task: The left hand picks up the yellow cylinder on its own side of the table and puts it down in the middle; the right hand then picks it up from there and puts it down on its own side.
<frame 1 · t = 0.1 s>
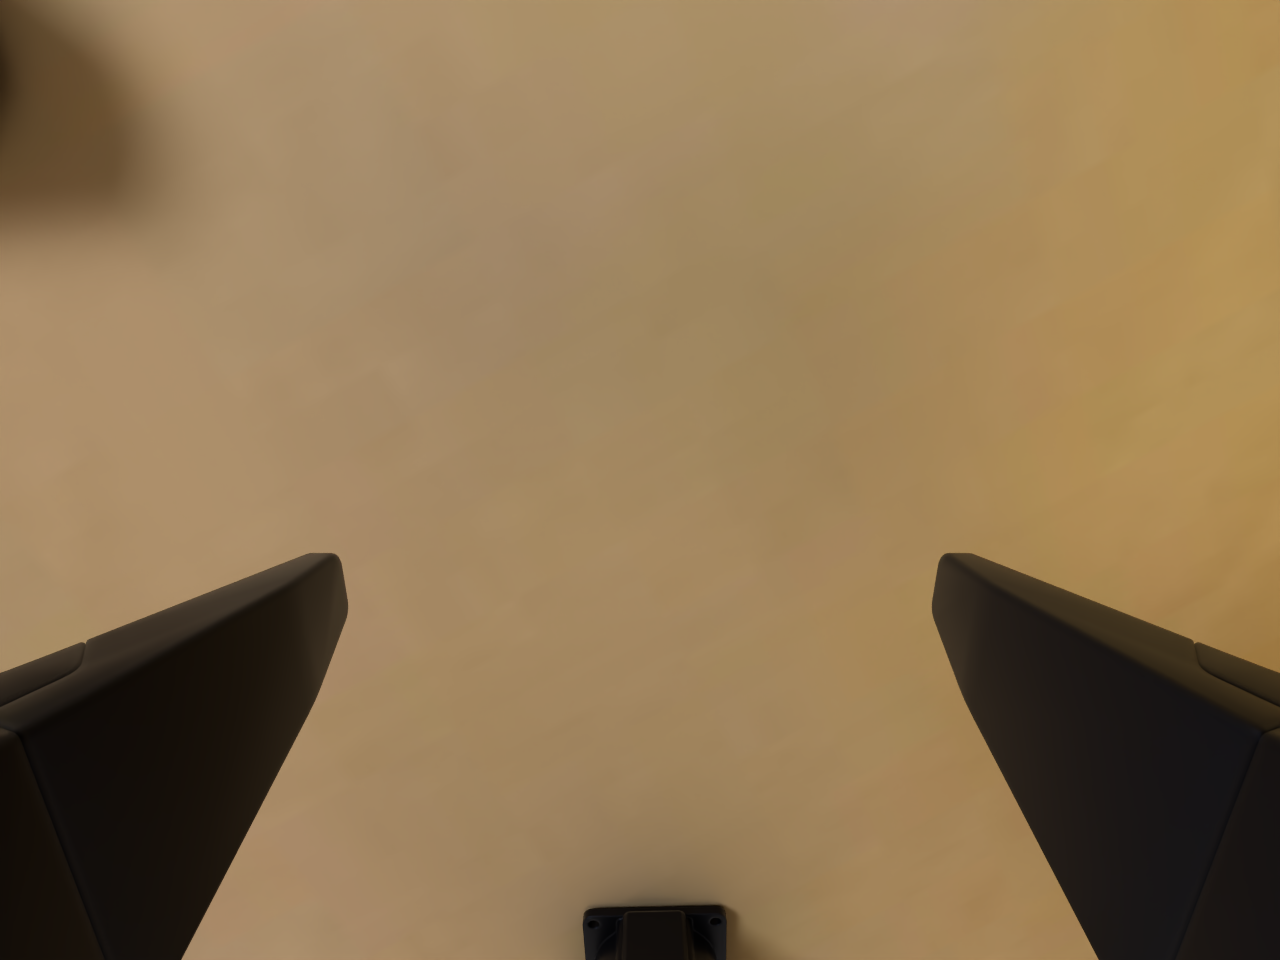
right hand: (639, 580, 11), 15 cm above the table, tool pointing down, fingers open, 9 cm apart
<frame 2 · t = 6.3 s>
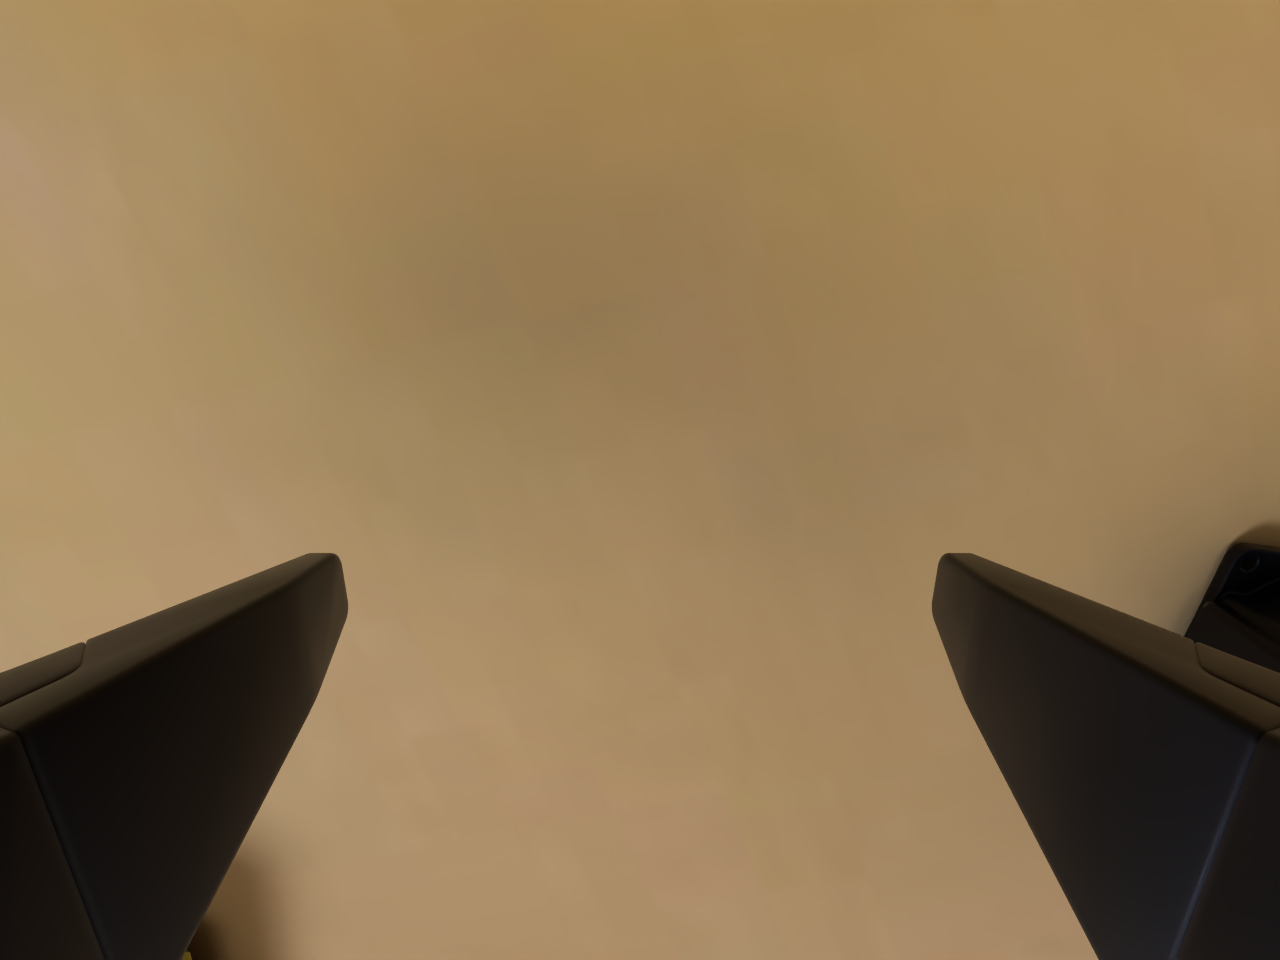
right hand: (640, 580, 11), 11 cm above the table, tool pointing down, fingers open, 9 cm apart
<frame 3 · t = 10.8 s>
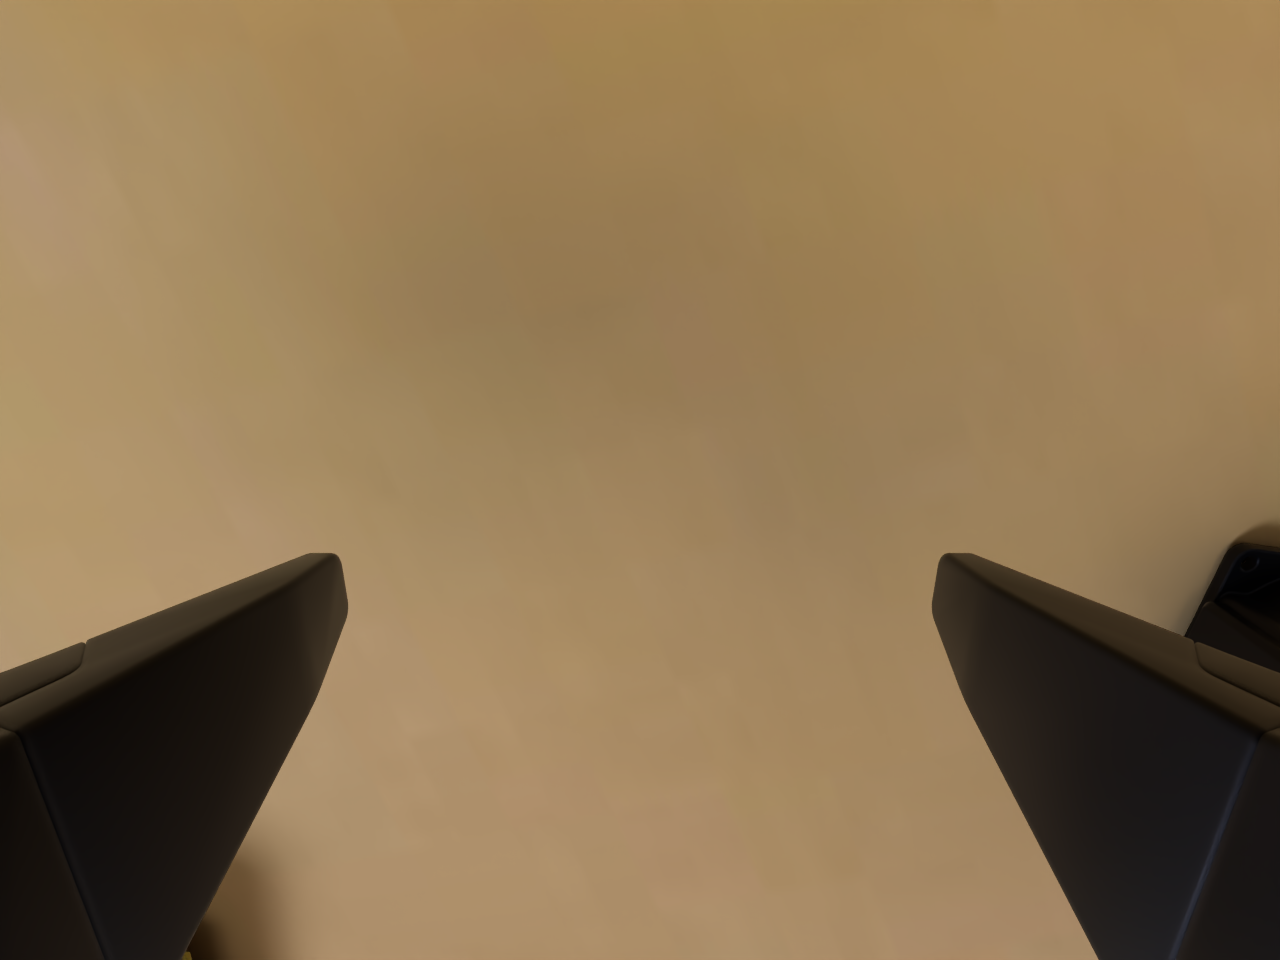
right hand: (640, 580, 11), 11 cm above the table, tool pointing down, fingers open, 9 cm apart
when the left hand's fingers open (1 cm above the table, at t = 15.3 s): yellow cylinder stays where it is, on the table.
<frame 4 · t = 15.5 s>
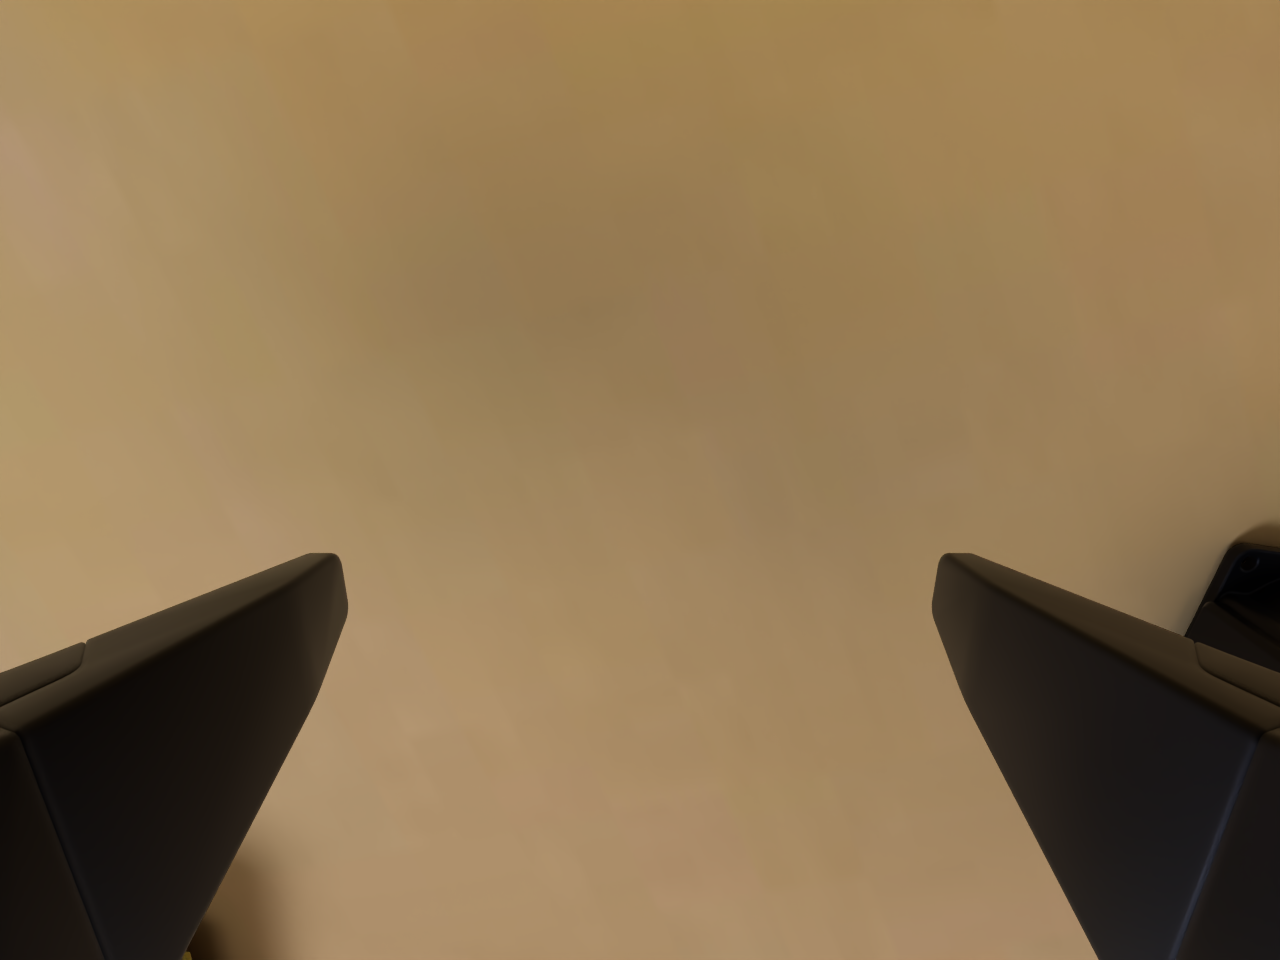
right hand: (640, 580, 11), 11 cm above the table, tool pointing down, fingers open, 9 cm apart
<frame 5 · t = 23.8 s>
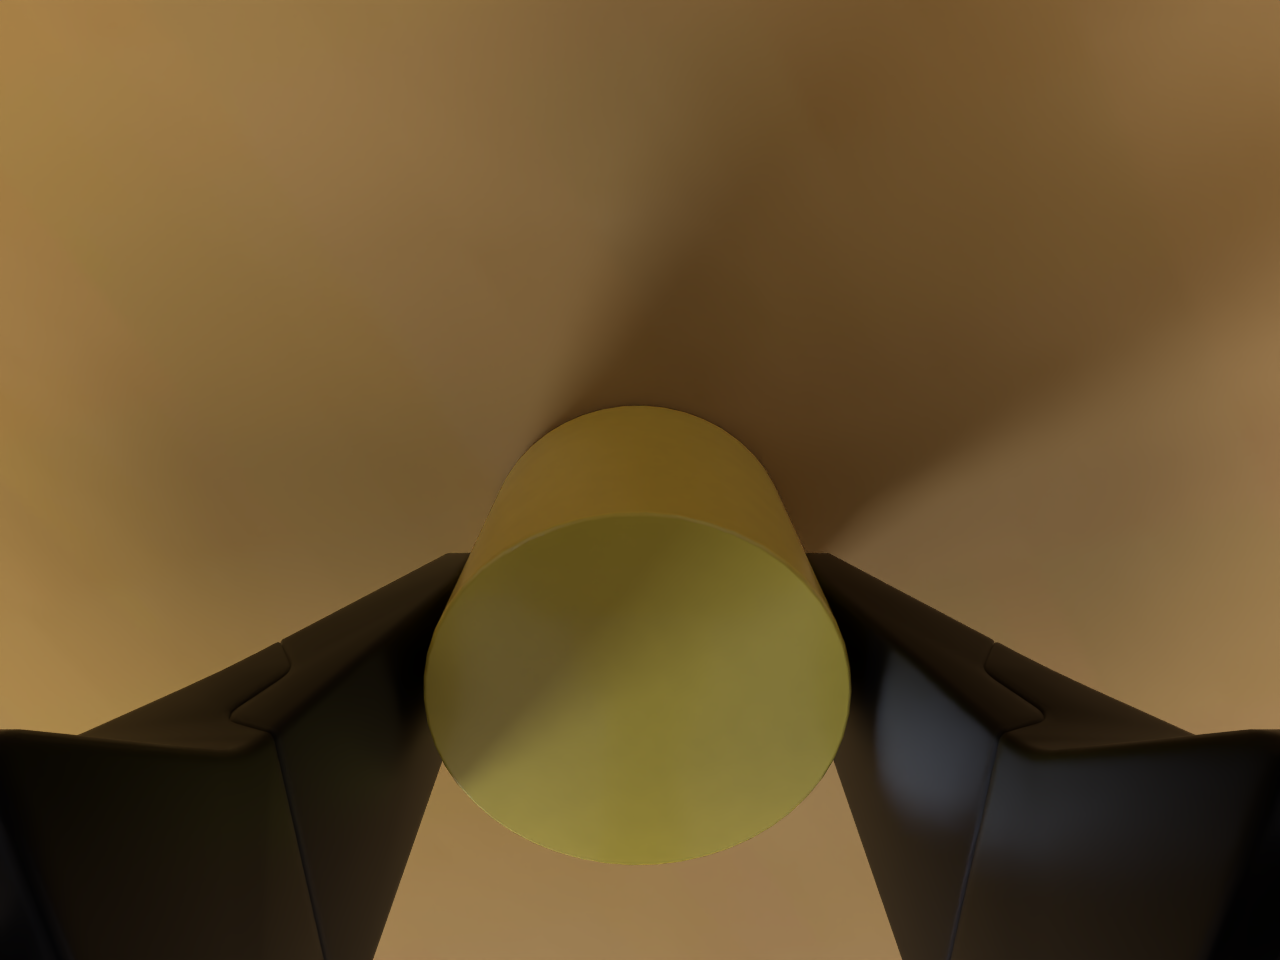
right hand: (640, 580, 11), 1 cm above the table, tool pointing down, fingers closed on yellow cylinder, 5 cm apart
yellow cylinder: (638, 547, 12), on the table, touching right hand
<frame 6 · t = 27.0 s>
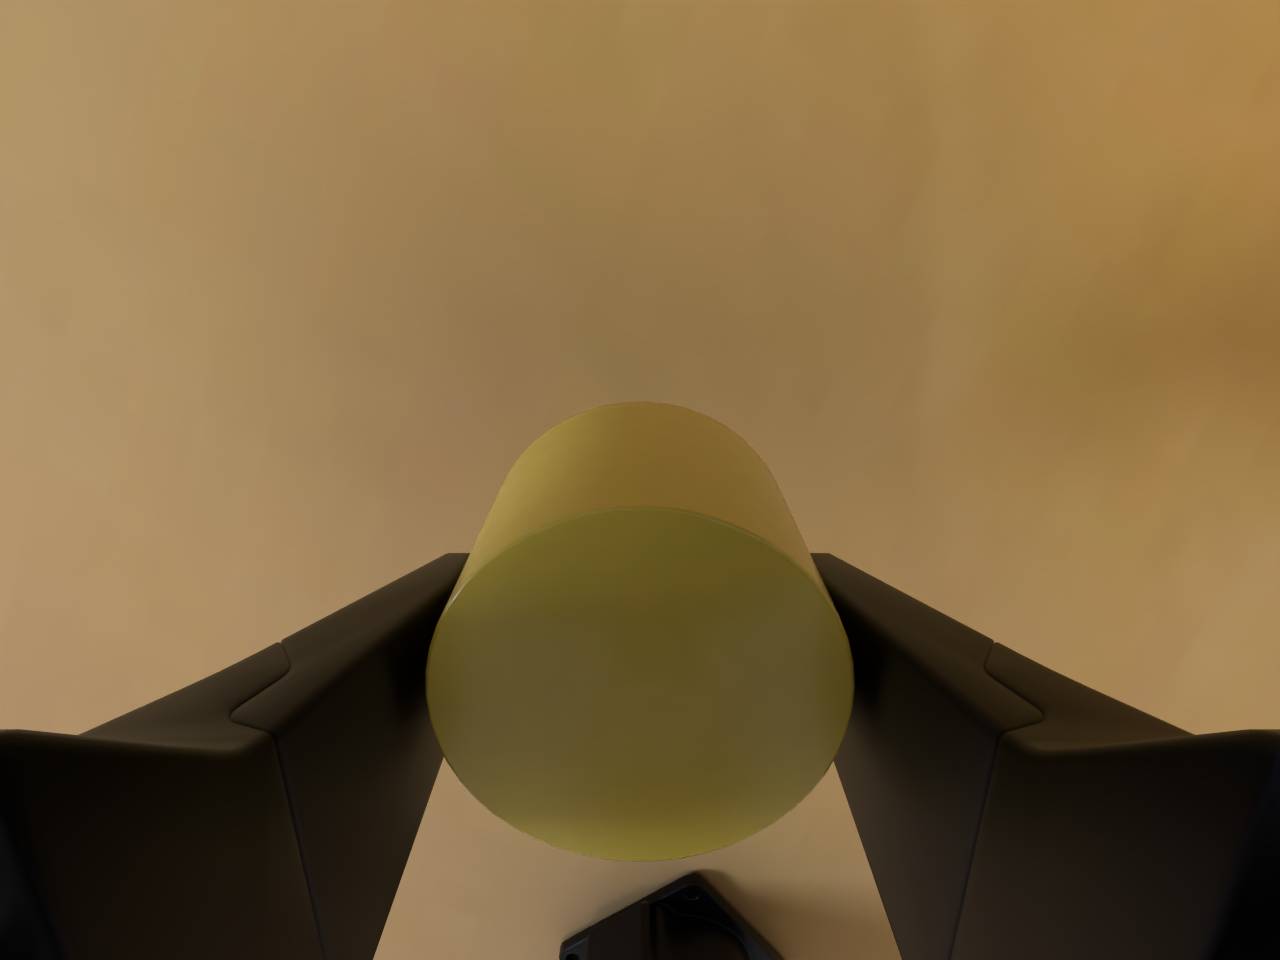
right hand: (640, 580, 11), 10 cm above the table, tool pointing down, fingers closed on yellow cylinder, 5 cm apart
yellow cylinder: (640, 544, 12), point 9 cm above the table, touching right hand
when the right hand's fingers open (2 cm above the table, at t = 30.5 s): yellow cylinder stays where it is, on the table.
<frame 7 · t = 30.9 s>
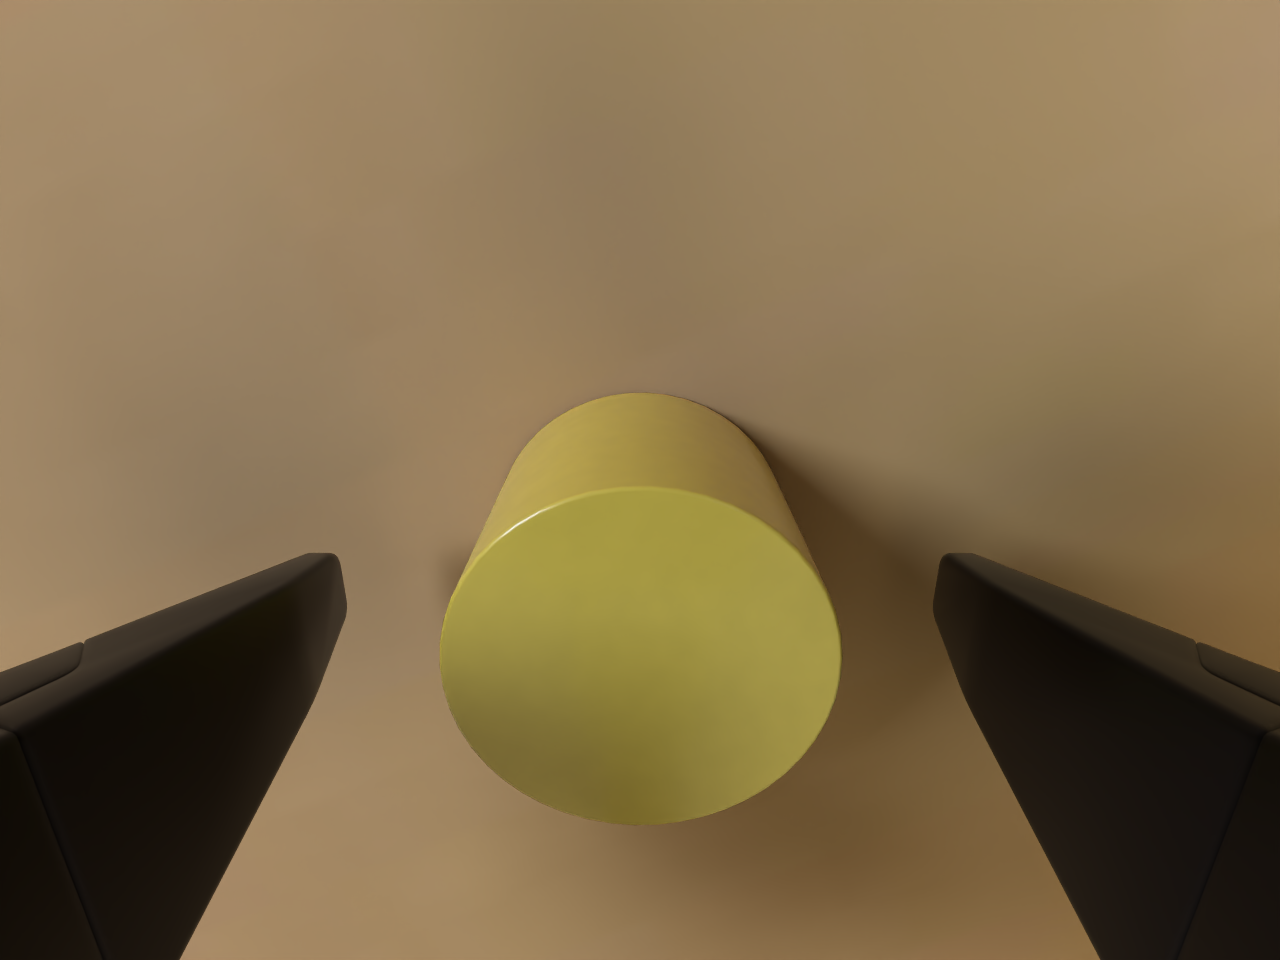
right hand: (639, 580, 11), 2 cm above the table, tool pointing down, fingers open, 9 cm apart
yellow cylinder: (640, 529, 12), on the table
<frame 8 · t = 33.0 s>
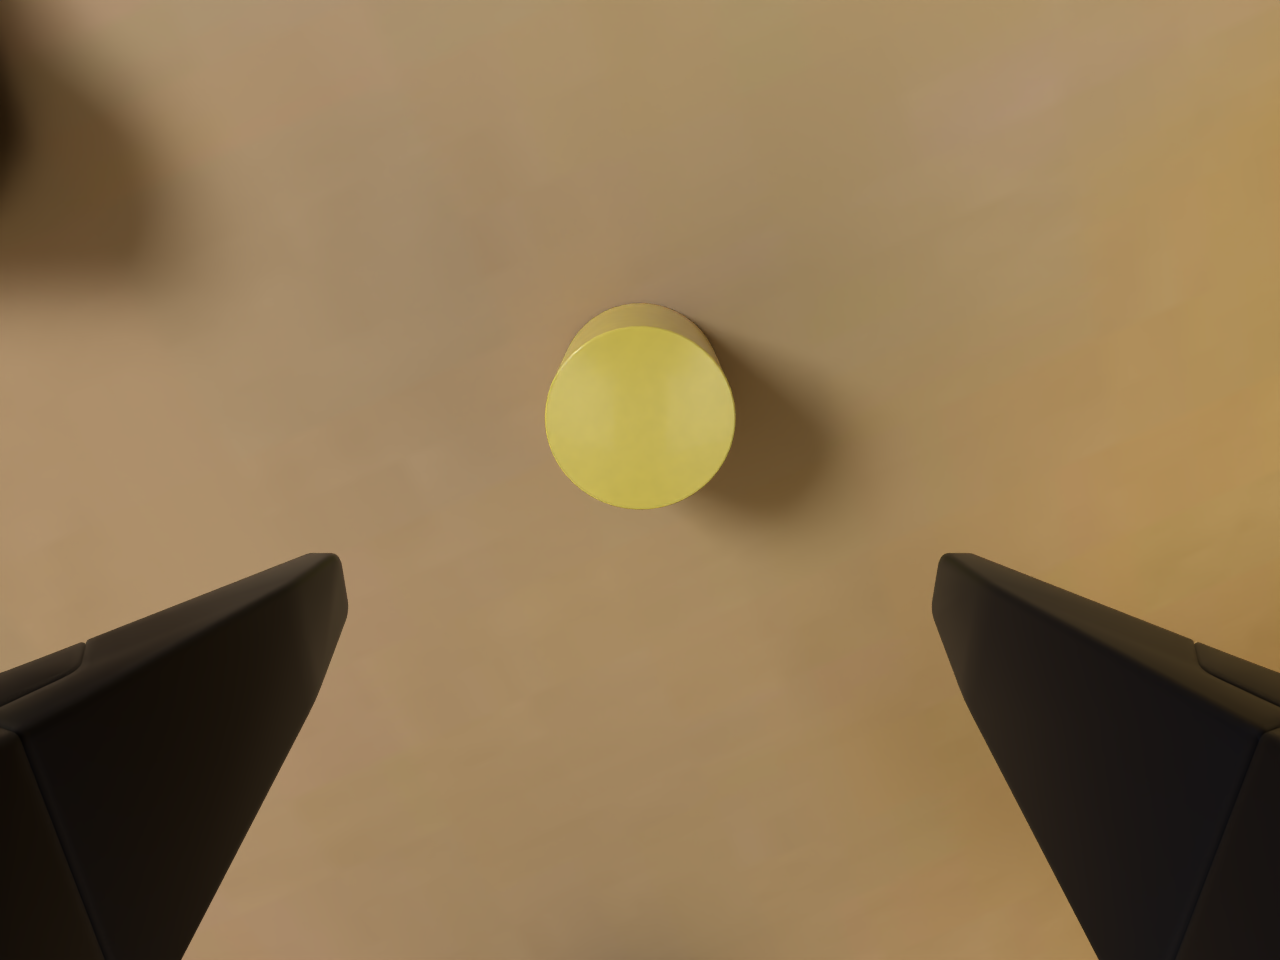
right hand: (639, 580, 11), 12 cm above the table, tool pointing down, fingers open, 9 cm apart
yellow cylinder: (640, 383, 22), on the table
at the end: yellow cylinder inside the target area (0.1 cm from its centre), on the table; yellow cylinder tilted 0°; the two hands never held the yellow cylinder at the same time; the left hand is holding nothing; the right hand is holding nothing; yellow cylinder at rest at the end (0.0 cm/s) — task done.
